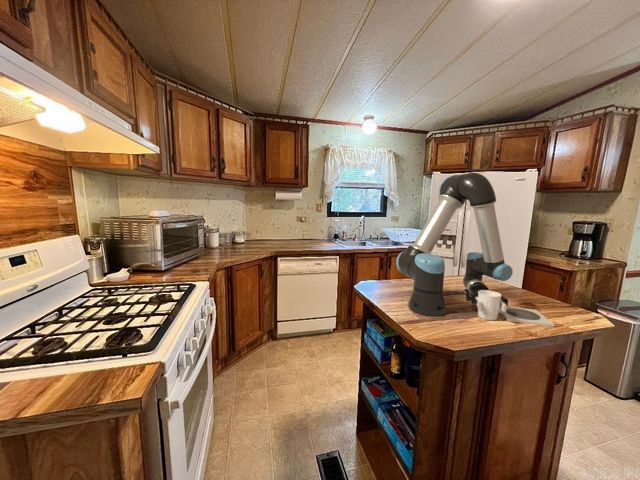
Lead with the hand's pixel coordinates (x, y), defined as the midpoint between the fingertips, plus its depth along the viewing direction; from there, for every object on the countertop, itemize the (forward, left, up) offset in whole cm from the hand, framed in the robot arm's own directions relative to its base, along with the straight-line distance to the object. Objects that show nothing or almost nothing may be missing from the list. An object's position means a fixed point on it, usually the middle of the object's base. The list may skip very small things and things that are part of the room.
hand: (492, 307), depth 101 cm
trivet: (+14, +11, -6) cm, 19 cm away
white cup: (0, +5, -6) cm, 8 cm away
